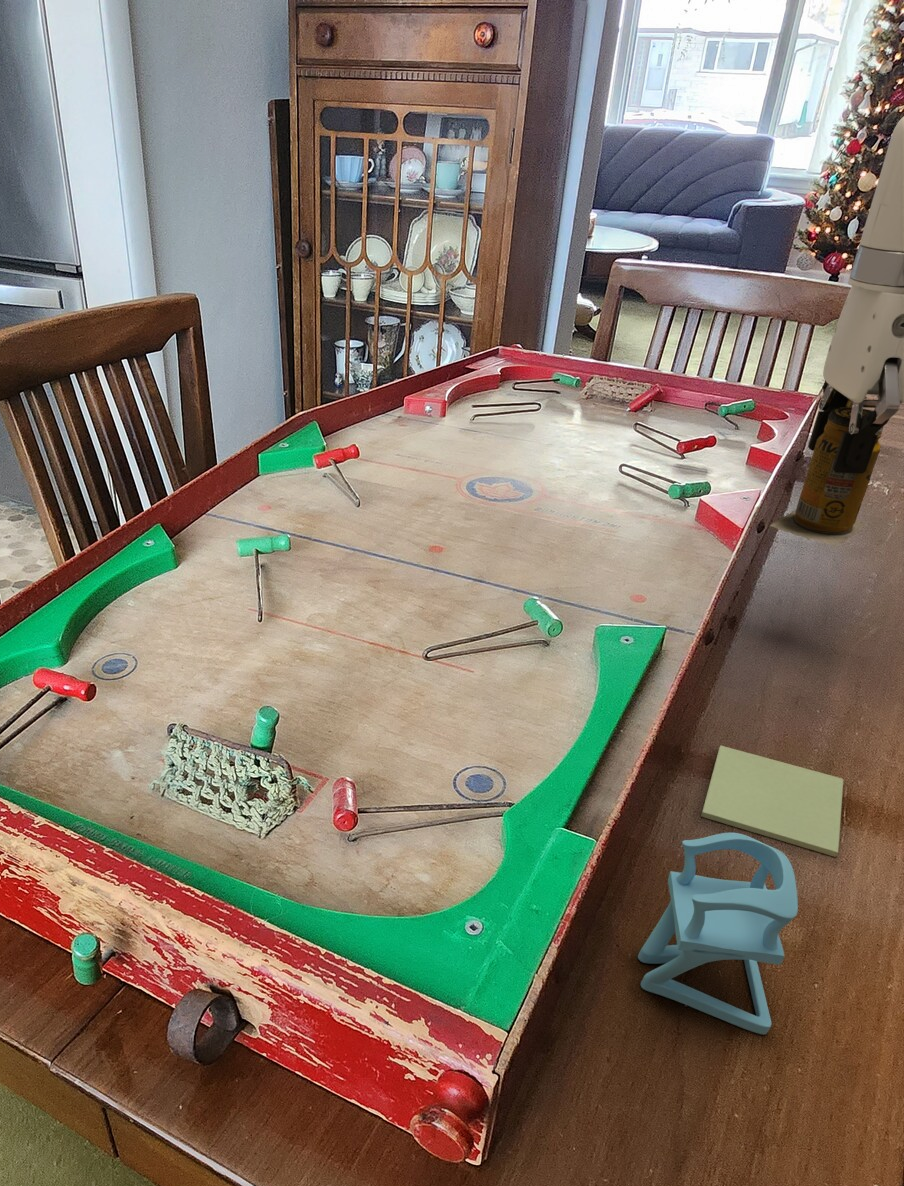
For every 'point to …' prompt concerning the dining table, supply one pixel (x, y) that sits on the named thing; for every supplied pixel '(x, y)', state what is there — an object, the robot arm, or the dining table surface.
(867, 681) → the dining table surface
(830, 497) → the condiment
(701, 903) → the chair
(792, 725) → the dining table surface
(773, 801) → the mat
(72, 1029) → the dining table surface
